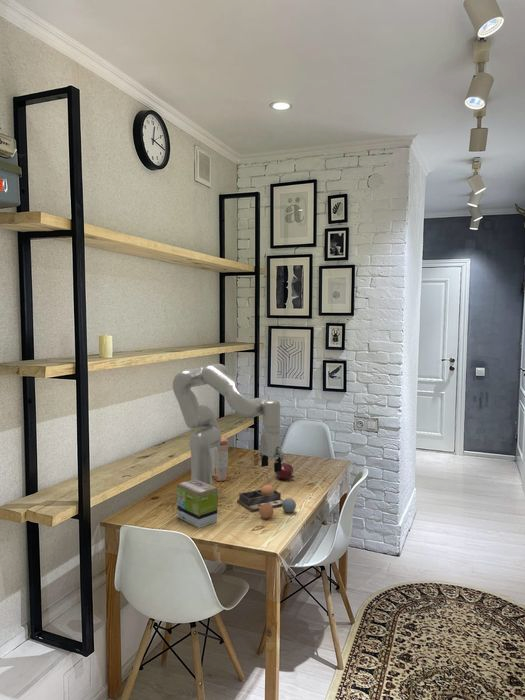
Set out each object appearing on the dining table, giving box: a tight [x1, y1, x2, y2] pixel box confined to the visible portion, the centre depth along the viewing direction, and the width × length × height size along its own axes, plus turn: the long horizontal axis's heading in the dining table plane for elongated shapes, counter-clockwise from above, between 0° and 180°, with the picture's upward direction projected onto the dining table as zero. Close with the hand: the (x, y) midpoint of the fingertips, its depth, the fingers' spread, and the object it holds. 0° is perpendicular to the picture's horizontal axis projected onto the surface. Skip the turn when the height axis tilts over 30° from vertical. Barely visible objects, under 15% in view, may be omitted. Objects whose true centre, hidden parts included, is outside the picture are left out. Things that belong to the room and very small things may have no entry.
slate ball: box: [281, 497, 297, 514], centre depth 227 cm, size 6×6×6 cm
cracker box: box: [210, 436, 229, 482], centre depth 274 cm, size 14×6×21 cm, turn 22°
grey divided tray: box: [236, 489, 285, 514], centre depth 237 cm, size 18×14×4 cm
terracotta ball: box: [258, 504, 274, 519], centre depth 220 cm, size 6×6×6 cm
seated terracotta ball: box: [260, 484, 275, 496], centre depth 240 cm, size 6×6×6 cm
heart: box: [274, 462, 294, 481], centre depth 275 cm, size 12×8×10 cm
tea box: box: [176, 479, 218, 529], centre depth 217 cm, size 15×10×15 cm
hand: (271, 468), depth 226 cm, fingers open, 9 cm apart
